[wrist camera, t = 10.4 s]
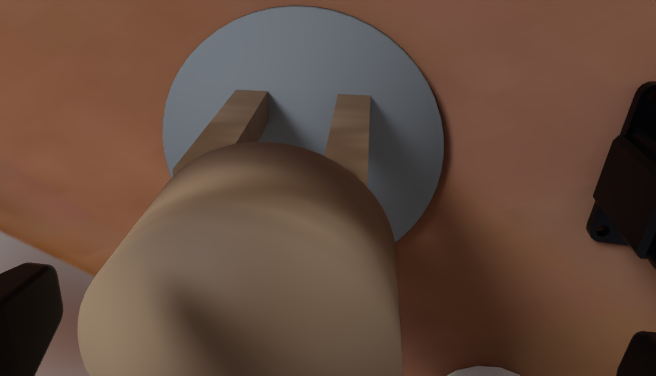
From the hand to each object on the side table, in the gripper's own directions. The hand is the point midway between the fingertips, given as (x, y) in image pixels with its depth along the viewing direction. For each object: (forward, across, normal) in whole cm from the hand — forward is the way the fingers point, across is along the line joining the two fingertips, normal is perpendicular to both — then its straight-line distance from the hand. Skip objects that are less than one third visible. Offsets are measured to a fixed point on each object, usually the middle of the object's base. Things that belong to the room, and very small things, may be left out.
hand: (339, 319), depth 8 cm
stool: (+13, +2, +3) cm, 13 cm away
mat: (+13, +2, +3) cm, 14 cm away
